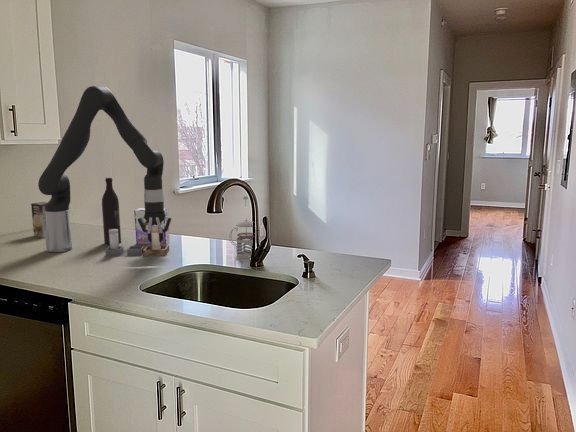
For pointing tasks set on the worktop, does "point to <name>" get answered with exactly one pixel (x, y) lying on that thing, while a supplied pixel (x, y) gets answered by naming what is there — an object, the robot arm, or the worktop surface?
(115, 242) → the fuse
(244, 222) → the french press
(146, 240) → the candy box
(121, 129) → the robot arm
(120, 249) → the fuse holder
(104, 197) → the wine bottle
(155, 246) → the marked fuse
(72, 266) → the worktop surface
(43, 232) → the coffee box
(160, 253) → the walnut tray
